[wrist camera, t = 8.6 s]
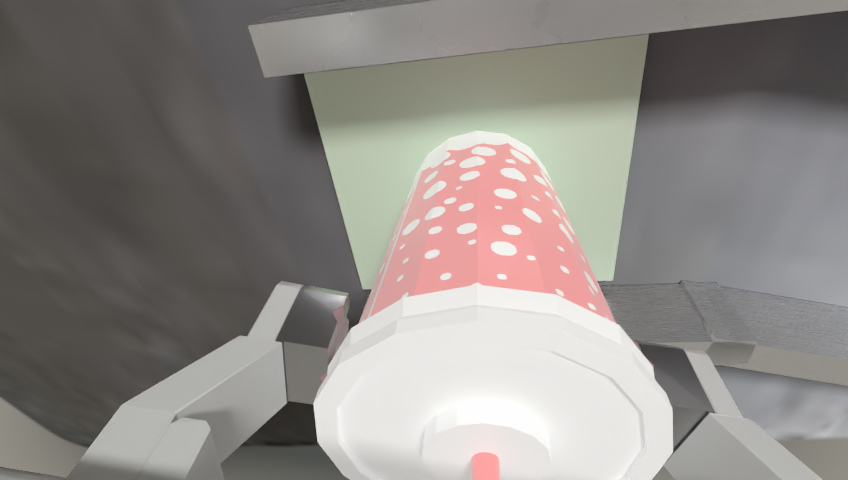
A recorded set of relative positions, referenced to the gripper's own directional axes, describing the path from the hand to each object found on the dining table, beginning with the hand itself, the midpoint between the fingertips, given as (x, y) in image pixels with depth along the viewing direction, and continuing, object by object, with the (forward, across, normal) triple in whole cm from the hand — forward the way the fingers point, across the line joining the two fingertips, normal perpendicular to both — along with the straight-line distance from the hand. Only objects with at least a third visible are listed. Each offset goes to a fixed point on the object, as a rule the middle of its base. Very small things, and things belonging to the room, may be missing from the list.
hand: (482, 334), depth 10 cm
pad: (+7, 0, 0) cm, 7 cm away
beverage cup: (+7, 0, 0) cm, 7 cm away
